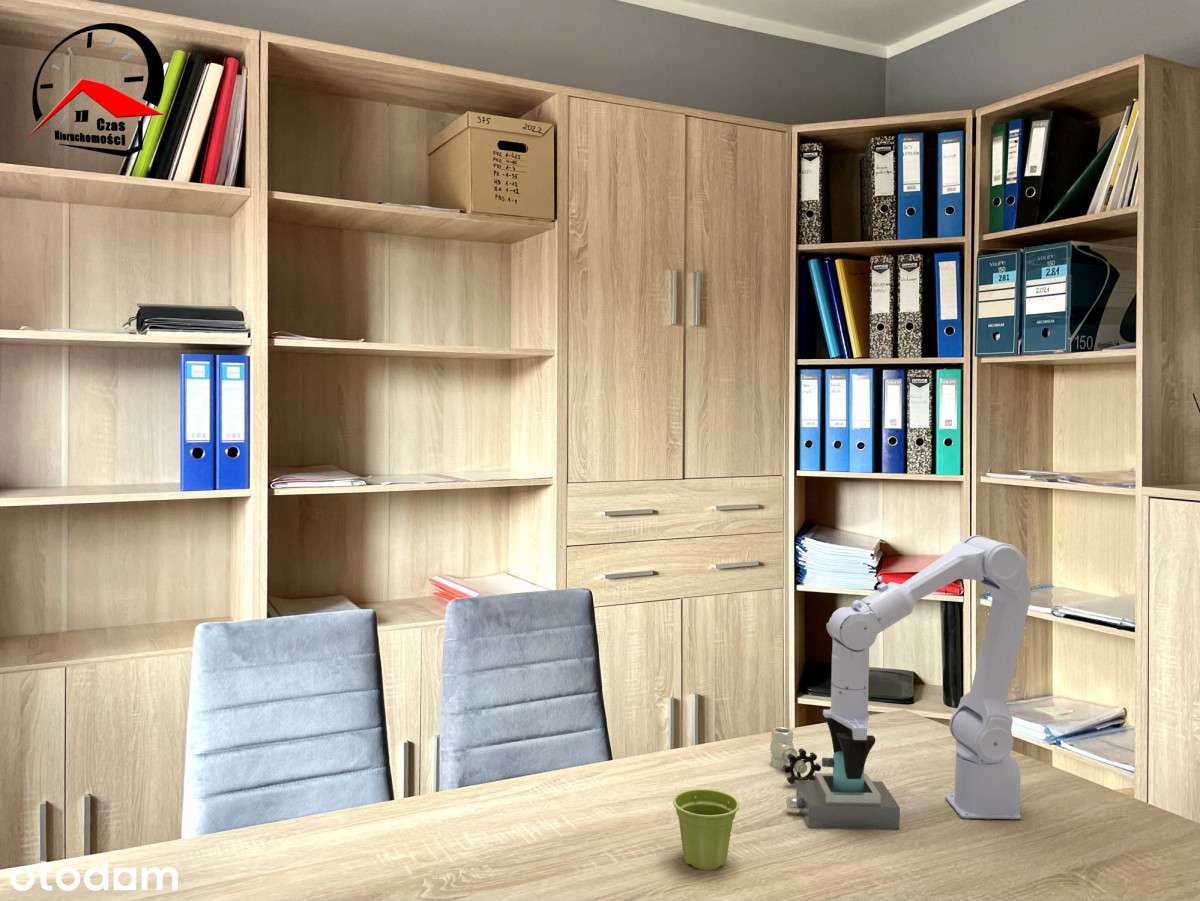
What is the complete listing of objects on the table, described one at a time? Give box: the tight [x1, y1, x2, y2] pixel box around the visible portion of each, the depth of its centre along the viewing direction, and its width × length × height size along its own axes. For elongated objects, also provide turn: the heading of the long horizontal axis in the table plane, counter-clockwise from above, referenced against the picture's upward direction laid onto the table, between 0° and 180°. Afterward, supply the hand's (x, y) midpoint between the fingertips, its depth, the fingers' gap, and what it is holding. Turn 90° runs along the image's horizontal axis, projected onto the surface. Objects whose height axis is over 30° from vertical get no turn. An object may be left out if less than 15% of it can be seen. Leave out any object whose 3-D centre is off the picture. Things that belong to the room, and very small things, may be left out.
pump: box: [821, 751, 865, 793], centre depth 156 cm, size 6×5×6 cm
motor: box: [785, 772, 901, 830], centre depth 156 cm, size 16×10×5 cm, turn 89°
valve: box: [769, 726, 822, 785], centre depth 172 cm, size 7×7×12 cm
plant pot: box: [672, 788, 740, 871], centre depth 140 cm, size 9×9×9 cm
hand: (847, 768), depth 156 cm, fingers open, 7 cm apart
